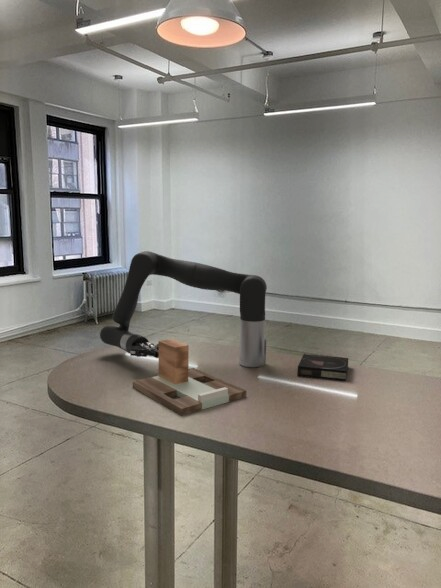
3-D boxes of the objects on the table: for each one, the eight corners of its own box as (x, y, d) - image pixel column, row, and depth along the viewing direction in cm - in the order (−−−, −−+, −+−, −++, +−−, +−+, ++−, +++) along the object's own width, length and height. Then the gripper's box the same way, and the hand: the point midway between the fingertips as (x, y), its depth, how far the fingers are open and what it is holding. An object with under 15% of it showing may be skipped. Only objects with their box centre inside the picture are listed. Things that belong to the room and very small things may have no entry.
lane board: (193, 373, 173) (193, 362, 172) (246, 396, 151) (246, 384, 150) (132, 387, 158) (132, 375, 157) (181, 415, 136) (181, 401, 136)
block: (171, 373, 166) (171, 338, 164) (188, 381, 158) (188, 345, 156) (158, 376, 163) (158, 341, 161) (175, 384, 155) (175, 347, 153)
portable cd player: (297, 377, 171) (297, 366, 170) (303, 363, 187) (303, 353, 187) (345, 383, 166) (346, 371, 166) (347, 368, 183) (348, 358, 182)
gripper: (117, 336, 175) (142, 347, 162) (150, 331, 183) (175, 341, 170) (118, 357, 176) (142, 369, 163) (150, 351, 184) (175, 362, 171)
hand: (159, 354), depth 166 cm, fingers closed
